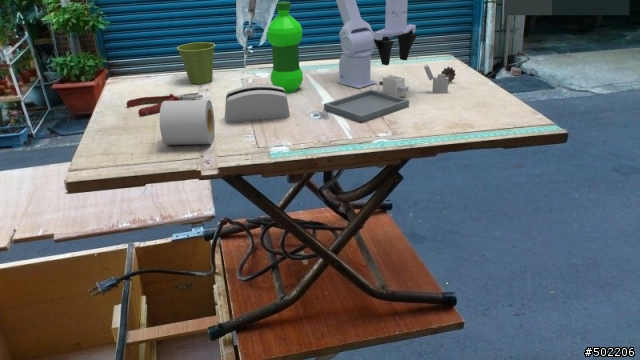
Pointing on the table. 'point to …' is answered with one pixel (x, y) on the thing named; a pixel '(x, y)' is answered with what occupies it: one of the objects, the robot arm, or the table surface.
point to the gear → (449, 73)
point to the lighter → (438, 81)
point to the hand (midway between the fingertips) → (394, 62)
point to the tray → (366, 105)
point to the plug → (394, 85)
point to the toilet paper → (187, 122)
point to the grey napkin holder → (256, 103)
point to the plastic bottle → (285, 49)
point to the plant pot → (198, 61)
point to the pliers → (158, 102)
